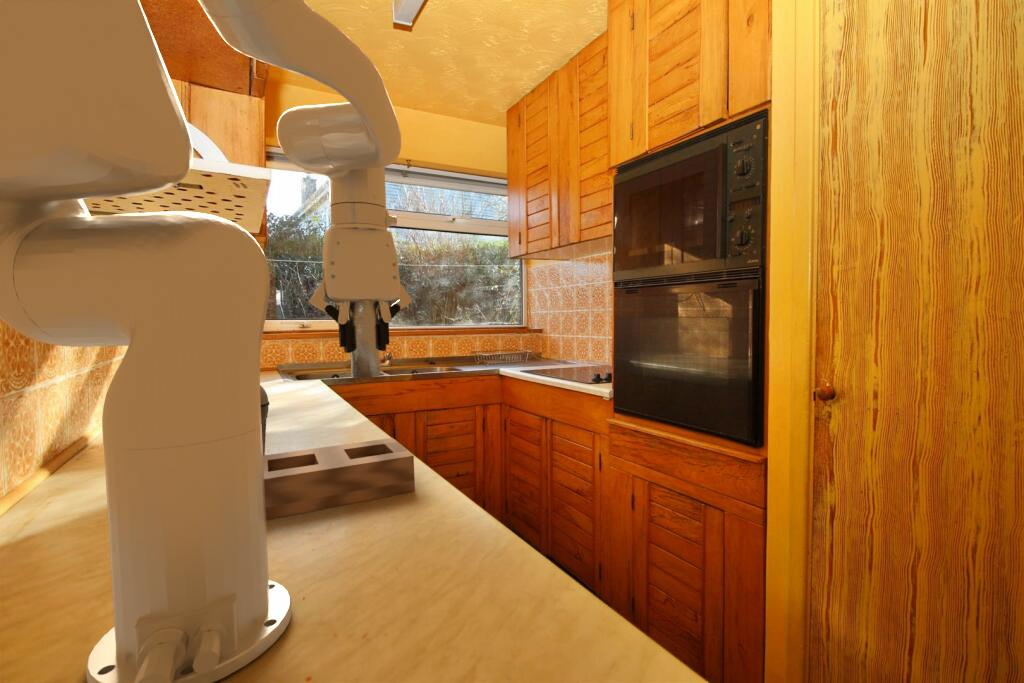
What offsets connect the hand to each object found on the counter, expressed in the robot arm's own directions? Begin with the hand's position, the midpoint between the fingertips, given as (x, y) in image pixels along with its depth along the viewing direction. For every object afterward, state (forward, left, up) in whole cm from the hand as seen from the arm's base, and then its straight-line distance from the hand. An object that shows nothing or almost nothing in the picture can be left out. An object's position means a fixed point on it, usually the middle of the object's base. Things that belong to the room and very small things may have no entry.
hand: (365, 349), depth 67 cm
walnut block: (0, +5, -20) cm, 20 cm away
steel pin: (0, 0, -4) cm, 4 cm away
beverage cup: (+12, +16, -20) cm, 28 cm away
